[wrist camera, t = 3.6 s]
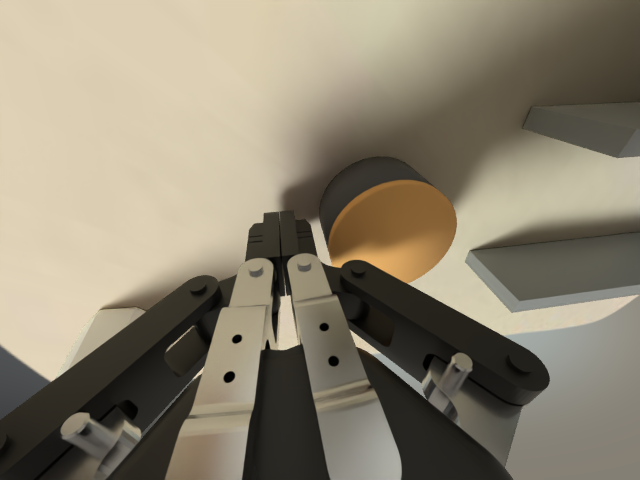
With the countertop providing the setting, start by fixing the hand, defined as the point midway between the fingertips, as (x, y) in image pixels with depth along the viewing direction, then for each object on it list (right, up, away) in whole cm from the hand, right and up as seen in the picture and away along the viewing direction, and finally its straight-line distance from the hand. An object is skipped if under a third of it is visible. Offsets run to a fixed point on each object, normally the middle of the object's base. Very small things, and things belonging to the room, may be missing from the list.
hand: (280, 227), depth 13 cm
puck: (+5, +1, +2) cm, 5 cm away
